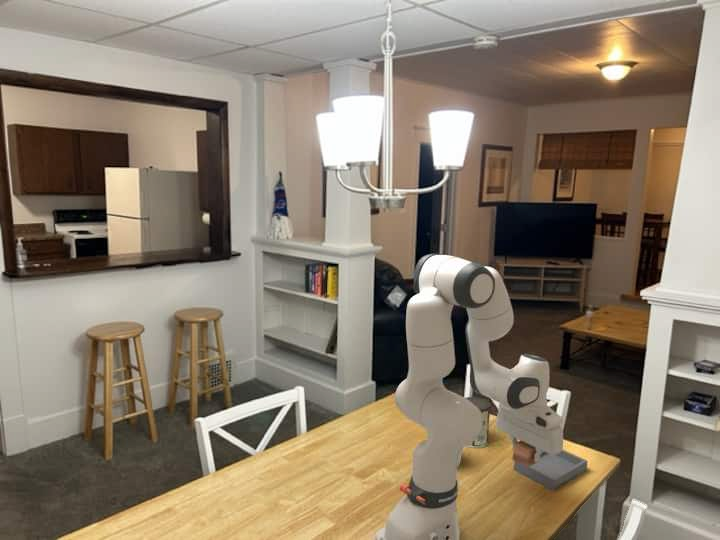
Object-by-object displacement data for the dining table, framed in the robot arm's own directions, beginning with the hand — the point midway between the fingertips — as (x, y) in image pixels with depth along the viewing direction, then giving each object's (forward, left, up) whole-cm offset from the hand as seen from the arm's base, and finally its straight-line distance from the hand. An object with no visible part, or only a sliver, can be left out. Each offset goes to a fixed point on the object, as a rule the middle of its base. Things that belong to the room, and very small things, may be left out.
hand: (525, 455), depth 149 cm
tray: (+17, +2, -12) cm, 20 cm away
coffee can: (+12, +29, -12) cm, 33 cm away
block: (0, 0, -2) cm, 2 cm away
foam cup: (-5, +24, -12) cm, 27 cm away
